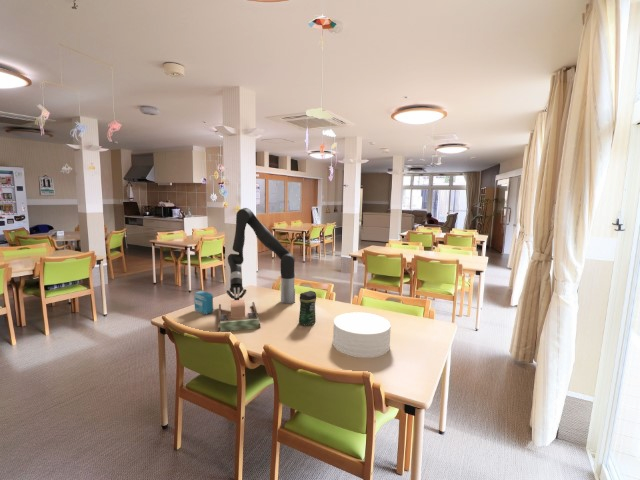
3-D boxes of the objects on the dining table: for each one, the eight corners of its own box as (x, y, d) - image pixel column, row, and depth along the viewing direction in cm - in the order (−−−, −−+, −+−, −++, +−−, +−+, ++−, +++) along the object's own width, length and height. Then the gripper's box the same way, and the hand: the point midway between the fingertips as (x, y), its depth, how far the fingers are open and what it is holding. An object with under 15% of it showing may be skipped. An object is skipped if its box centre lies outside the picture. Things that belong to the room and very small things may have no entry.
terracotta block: (244, 310, 206) (243, 299, 205) (245, 317, 194) (245, 306, 193) (230, 311, 203) (230, 300, 202) (231, 318, 192) (231, 307, 191)
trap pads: (254, 312, 201) (254, 312, 201) (255, 317, 194) (255, 317, 194) (220, 315, 196) (220, 315, 196) (220, 320, 188) (220, 319, 188)
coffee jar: (306, 327, 181) (307, 295, 179) (296, 323, 186) (297, 292, 184) (318, 322, 189) (318, 291, 186) (307, 319, 194) (308, 288, 191)
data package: (194, 310, 203) (194, 292, 201) (200, 308, 207) (200, 290, 205) (207, 314, 196) (206, 295, 195) (213, 312, 200) (212, 293, 199)
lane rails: (254, 305, 215) (253, 298, 214) (260, 328, 179) (260, 319, 178) (219, 307, 209) (219, 300, 208) (218, 331, 173) (218, 322, 172)
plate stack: (353, 328, 182) (353, 308, 181) (399, 343, 165) (400, 321, 163) (321, 345, 161) (322, 322, 159) (370, 364, 143) (372, 339, 142)
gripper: (225, 277, 210) (226, 301, 200) (246, 276, 213) (248, 300, 203) (225, 283, 215) (226, 307, 205) (246, 282, 219) (247, 305, 209)
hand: (237, 303), depth 204 cm, fingers closed
